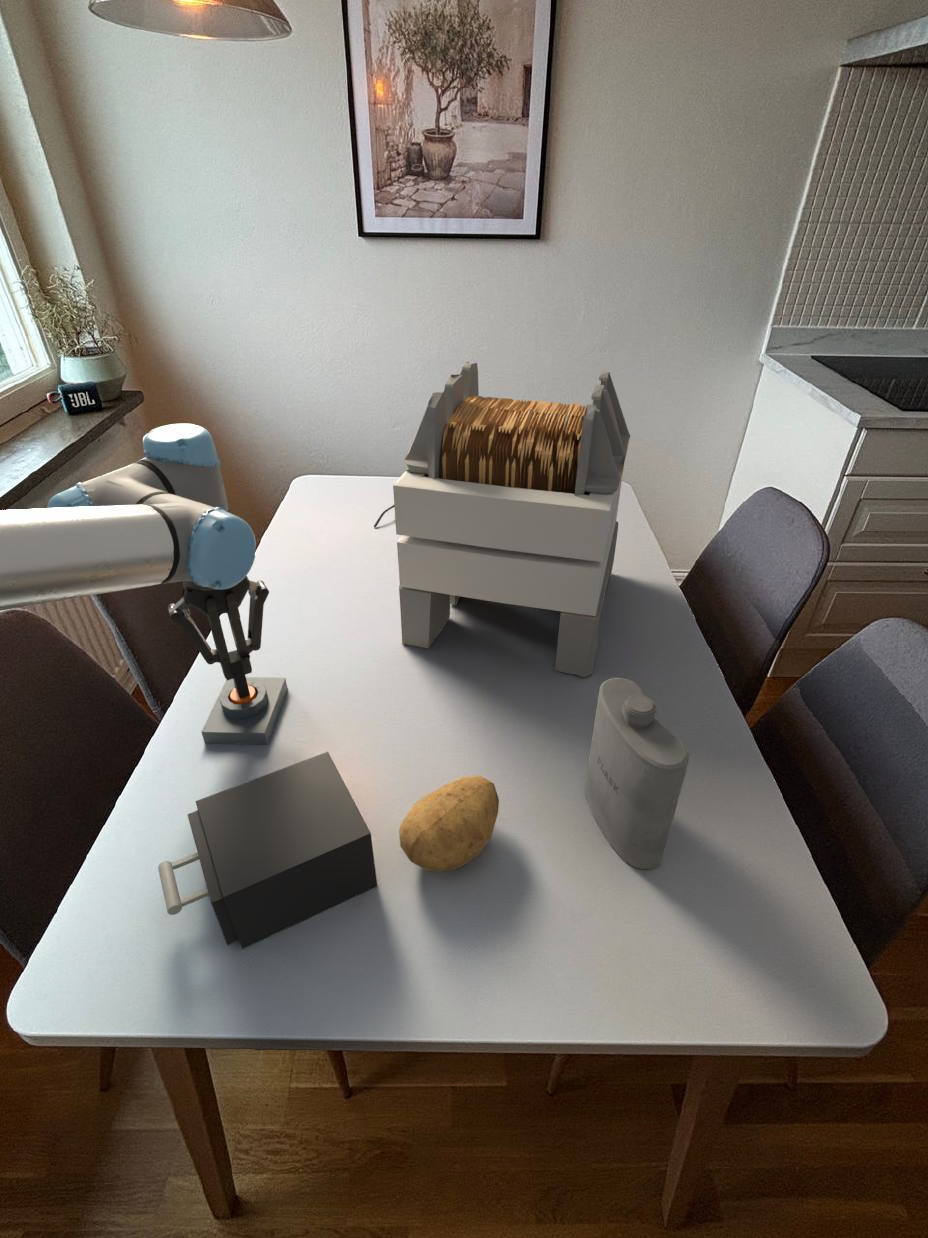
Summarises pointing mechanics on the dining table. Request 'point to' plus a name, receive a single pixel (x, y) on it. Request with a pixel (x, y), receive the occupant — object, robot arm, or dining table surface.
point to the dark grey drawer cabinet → (287, 847)
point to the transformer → (511, 510)
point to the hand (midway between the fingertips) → (242, 691)
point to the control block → (246, 713)
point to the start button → (237, 700)
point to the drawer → (212, 883)
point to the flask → (633, 773)
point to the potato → (450, 824)
